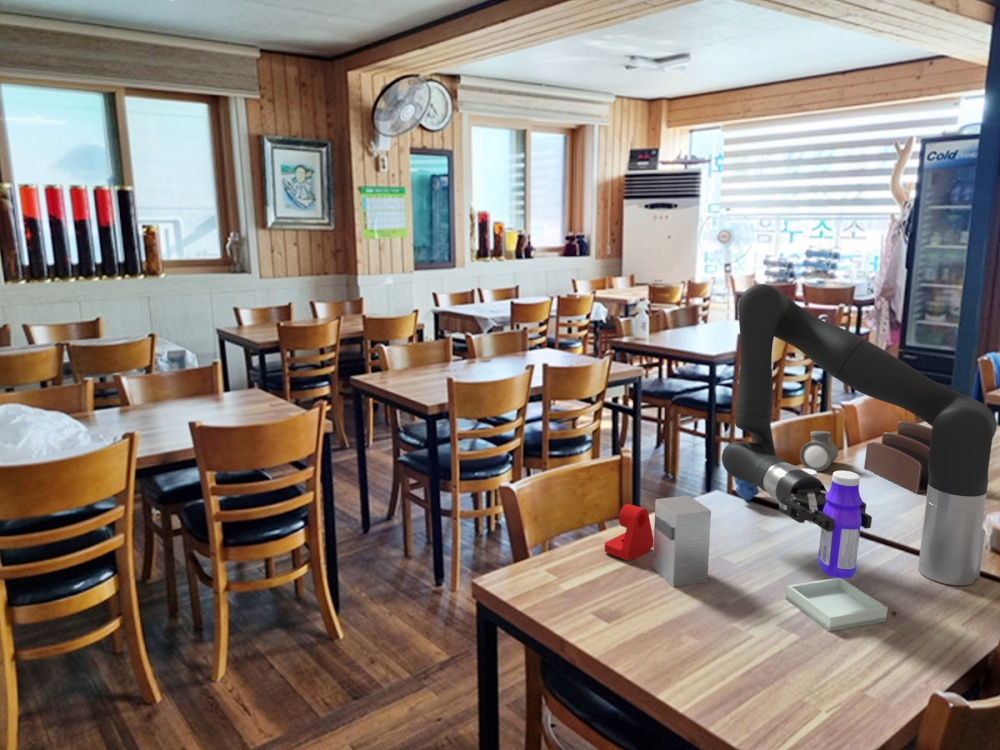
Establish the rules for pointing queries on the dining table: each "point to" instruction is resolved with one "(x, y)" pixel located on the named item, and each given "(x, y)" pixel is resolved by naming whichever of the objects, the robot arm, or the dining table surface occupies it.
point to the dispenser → (681, 540)
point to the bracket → (632, 534)
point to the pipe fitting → (818, 451)
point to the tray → (836, 604)
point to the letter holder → (902, 456)
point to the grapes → (746, 489)
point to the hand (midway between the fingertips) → (850, 524)
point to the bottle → (841, 526)
